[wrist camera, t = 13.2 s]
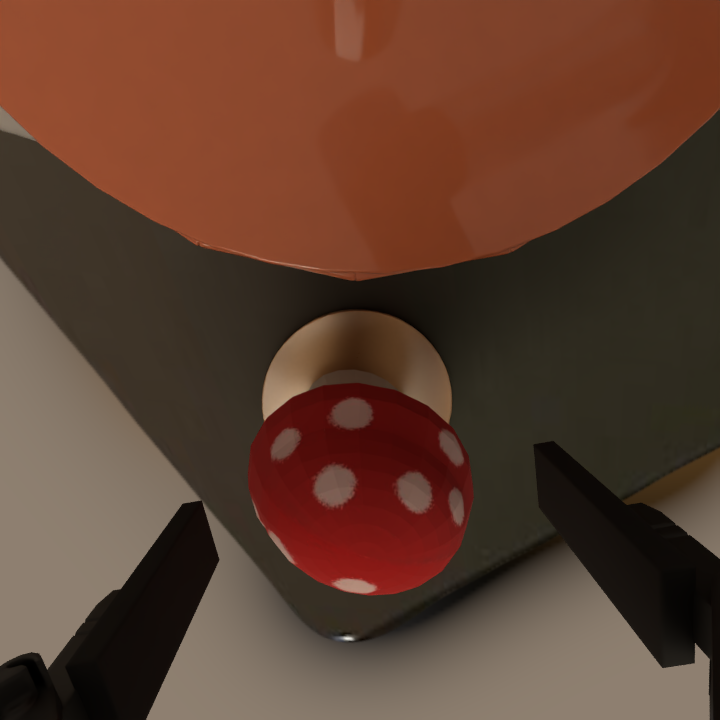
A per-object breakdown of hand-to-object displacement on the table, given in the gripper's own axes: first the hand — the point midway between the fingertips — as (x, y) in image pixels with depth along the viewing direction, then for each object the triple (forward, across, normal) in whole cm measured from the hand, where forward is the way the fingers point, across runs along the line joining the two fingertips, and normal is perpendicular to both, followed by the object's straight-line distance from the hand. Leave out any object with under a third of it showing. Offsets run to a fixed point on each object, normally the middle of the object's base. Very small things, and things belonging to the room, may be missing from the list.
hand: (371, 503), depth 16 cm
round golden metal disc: (+13, 0, 0) cm, 13 cm away
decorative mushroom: (+12, 0, 0) cm, 12 cm away
